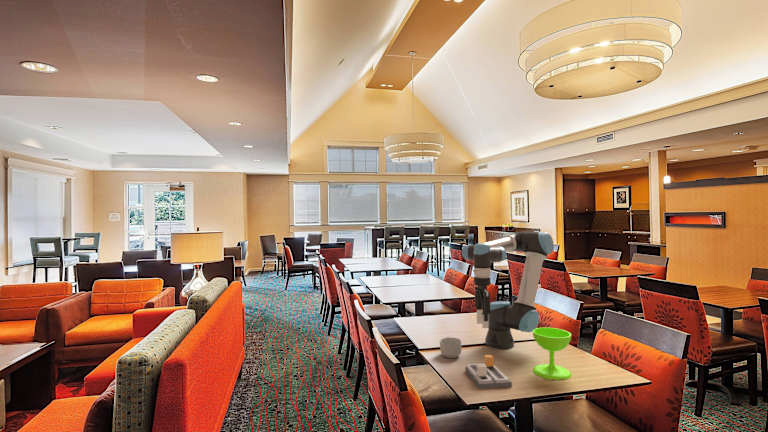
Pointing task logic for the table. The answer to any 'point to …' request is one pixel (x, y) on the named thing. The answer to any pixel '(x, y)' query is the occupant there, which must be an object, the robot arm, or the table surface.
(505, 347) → the robot arm
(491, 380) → the console
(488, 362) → the fader
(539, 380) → the table surface
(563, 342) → the wineglass
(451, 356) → the teacup
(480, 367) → the fader
